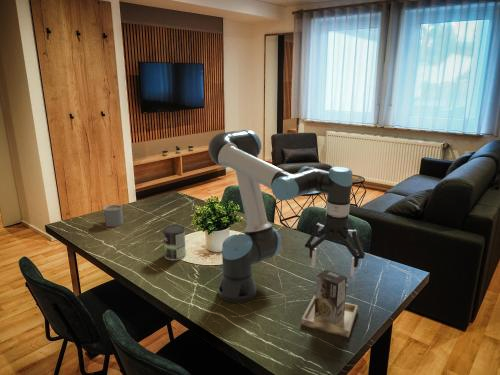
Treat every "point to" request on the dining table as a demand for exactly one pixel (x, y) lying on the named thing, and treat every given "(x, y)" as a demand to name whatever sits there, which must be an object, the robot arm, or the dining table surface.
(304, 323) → the holder
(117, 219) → the coffee mug
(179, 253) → the coffee can
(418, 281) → the dining table surface
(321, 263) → the dining table surface
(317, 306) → the coffee box
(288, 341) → the dining table surface
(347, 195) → the robot arm
